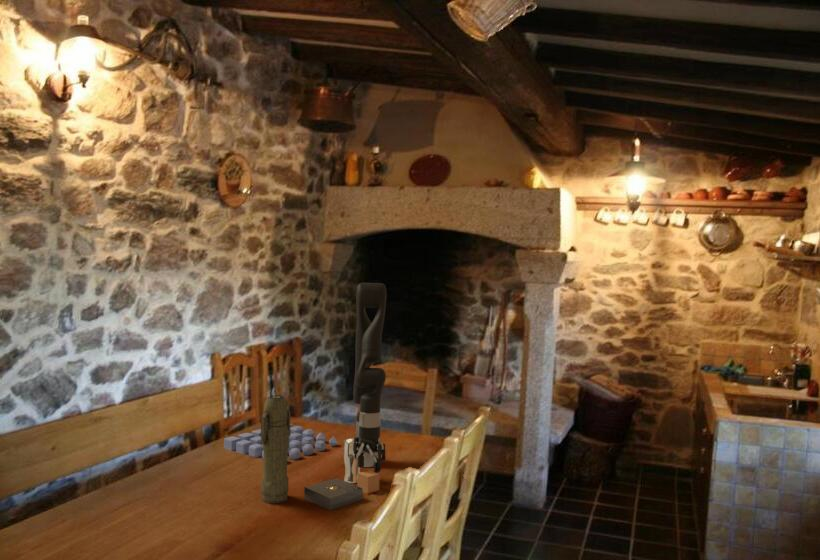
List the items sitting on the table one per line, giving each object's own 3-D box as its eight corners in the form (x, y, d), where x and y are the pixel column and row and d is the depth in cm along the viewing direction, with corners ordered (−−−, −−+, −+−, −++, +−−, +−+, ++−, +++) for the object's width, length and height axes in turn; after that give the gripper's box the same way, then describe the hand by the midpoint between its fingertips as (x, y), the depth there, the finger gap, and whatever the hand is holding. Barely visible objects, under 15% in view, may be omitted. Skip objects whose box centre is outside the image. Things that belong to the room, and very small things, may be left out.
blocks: (285, 432, 321) (285, 422, 320) (341, 447, 300) (341, 436, 300) (223, 450, 292) (223, 438, 292) (281, 467, 272) (281, 454, 272)
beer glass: (358, 484, 253) (359, 443, 252) (340, 482, 254) (341, 442, 253) (364, 478, 260) (364, 438, 259) (346, 476, 261) (346, 437, 260)
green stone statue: (296, 495, 240) (297, 395, 238) (273, 506, 230) (274, 401, 228) (276, 490, 245) (277, 391, 243) (253, 501, 234) (254, 398, 233)
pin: (334, 495, 240) (334, 485, 240) (339, 497, 238) (339, 487, 238) (327, 497, 238) (327, 487, 238) (332, 499, 236) (332, 489, 236)
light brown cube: (368, 486, 252) (369, 469, 251) (379, 490, 248) (379, 473, 248) (357, 489, 248) (357, 473, 247) (367, 493, 244) (367, 477, 244)
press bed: (336, 489, 248) (336, 477, 248) (362, 499, 238) (362, 488, 238) (304, 498, 238) (304, 487, 238) (330, 510, 228) (330, 498, 228)
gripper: (391, 426, 244) (390, 472, 245) (364, 419, 254) (363, 463, 255) (375, 429, 239) (374, 476, 239) (348, 422, 249) (347, 467, 249)
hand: (368, 469), depth 247 cm, fingers open, 8 cm apart
